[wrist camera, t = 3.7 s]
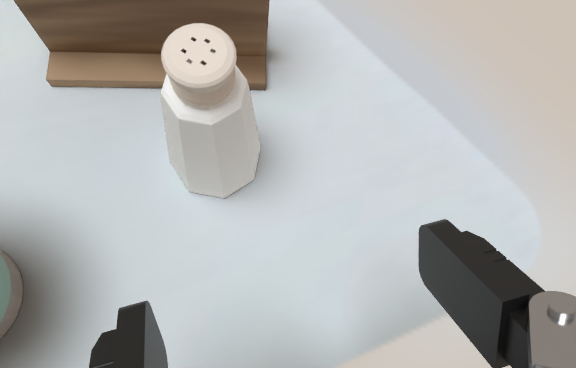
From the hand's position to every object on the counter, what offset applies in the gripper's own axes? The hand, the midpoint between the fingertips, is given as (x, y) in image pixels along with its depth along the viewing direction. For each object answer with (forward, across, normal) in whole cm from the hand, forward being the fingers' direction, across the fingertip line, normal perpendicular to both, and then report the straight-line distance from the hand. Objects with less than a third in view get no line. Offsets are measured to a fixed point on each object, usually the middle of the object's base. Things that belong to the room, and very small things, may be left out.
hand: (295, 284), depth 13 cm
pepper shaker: (+16, -1, -2) cm, 16 cm away
